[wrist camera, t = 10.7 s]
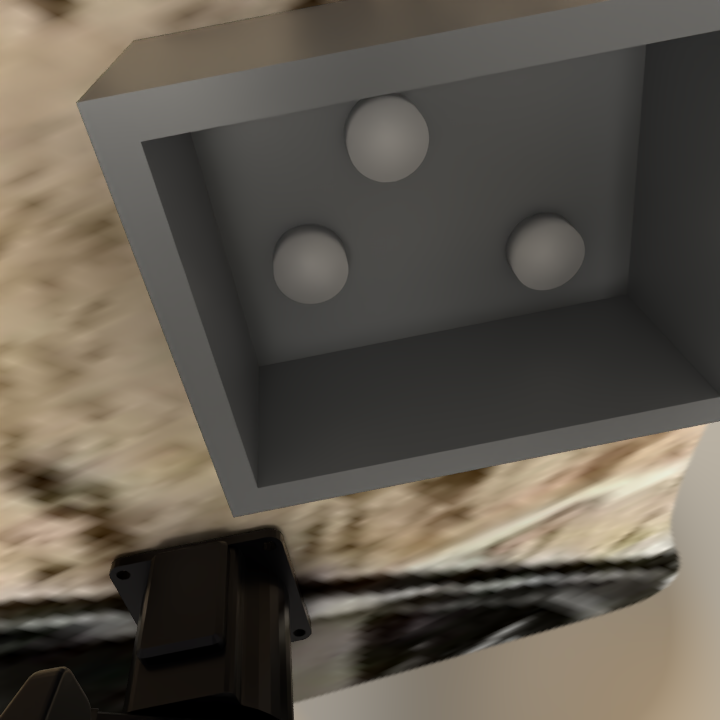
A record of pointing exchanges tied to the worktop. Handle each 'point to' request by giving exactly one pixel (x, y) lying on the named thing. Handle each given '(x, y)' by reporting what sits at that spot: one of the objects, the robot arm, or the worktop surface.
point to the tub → (424, 231)
